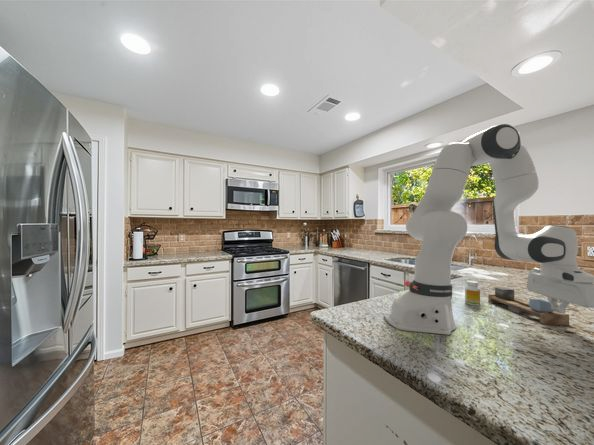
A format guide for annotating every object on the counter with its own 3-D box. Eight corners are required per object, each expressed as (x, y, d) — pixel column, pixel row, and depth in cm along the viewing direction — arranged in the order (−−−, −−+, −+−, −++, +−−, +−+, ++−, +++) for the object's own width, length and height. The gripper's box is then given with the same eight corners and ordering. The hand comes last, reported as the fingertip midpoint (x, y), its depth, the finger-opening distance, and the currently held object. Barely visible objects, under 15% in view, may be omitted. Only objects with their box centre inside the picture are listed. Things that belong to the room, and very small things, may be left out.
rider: (539, 314, 88) (539, 301, 88) (529, 310, 92) (529, 298, 92) (553, 314, 88) (553, 302, 88) (542, 310, 92) (542, 298, 92)
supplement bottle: (482, 306, 102) (482, 283, 103) (468, 305, 104) (468, 282, 104) (476, 302, 108) (476, 280, 108) (462, 301, 109) (462, 279, 109)
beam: (543, 324, 84) (543, 304, 84) (488, 301, 109) (488, 286, 109) (569, 324, 84) (569, 304, 84) (508, 302, 109) (508, 286, 109)
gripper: (521, 266, 94) (521, 302, 94) (583, 278, 74) (583, 323, 74) (538, 267, 94) (537, 302, 94) (604, 278, 74) (603, 323, 74)
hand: (558, 311), depth 84 cm, fingers closed
